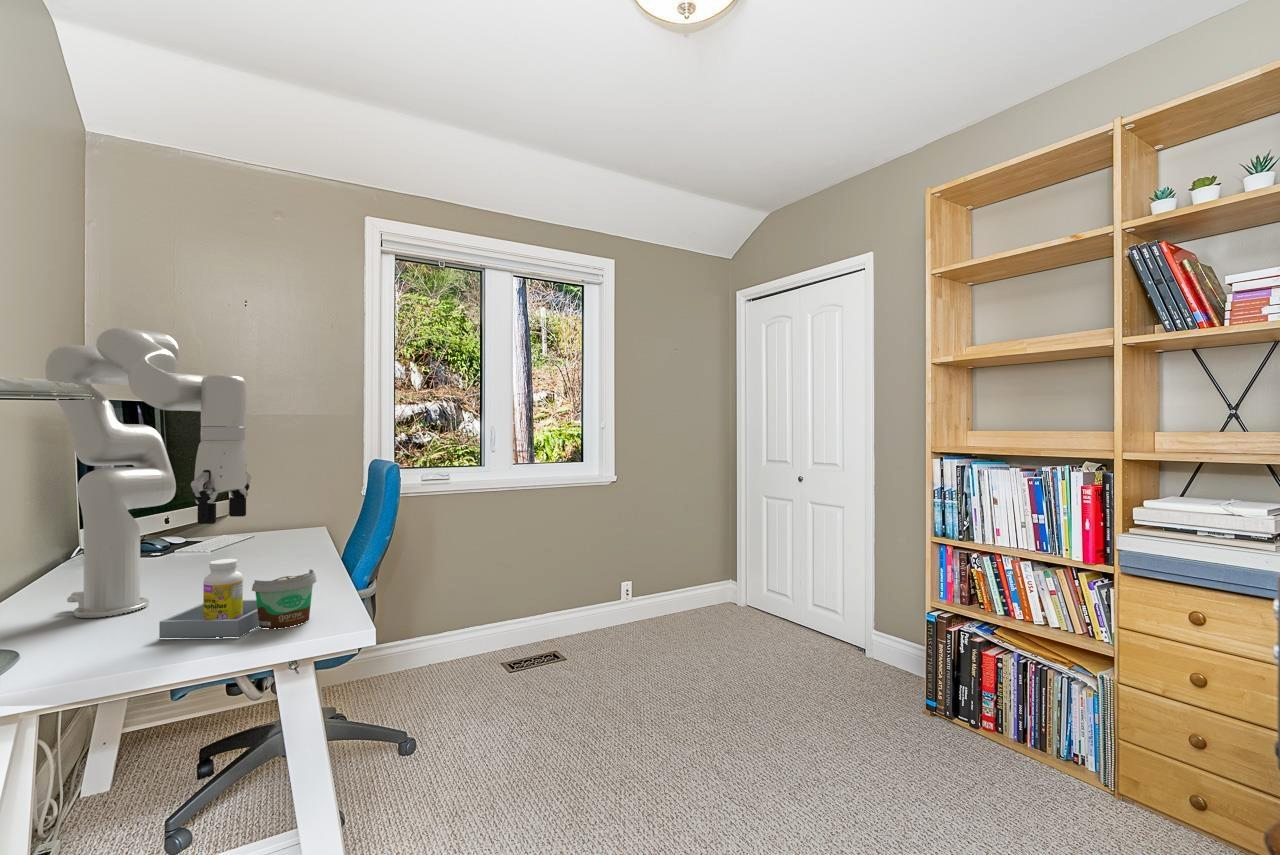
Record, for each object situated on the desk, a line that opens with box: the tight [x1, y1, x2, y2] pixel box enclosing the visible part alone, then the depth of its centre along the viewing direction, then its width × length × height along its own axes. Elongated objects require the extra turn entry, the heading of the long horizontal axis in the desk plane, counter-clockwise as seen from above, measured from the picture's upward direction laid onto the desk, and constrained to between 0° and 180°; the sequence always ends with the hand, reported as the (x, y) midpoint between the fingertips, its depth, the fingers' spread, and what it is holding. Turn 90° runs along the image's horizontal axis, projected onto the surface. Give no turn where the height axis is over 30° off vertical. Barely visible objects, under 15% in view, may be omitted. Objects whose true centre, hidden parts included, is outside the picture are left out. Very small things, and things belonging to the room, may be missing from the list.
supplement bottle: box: [203, 558, 244, 620], centre depth 124 cm, size 7×7×13 cm
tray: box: [158, 599, 259, 638], centre depth 124 cm, size 15×15×4 cm
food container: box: [251, 568, 317, 630], centre depth 126 cm, size 12×6×10 cm, turn 148°
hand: (222, 519), depth 124 cm, fingers open, 9 cm apart
